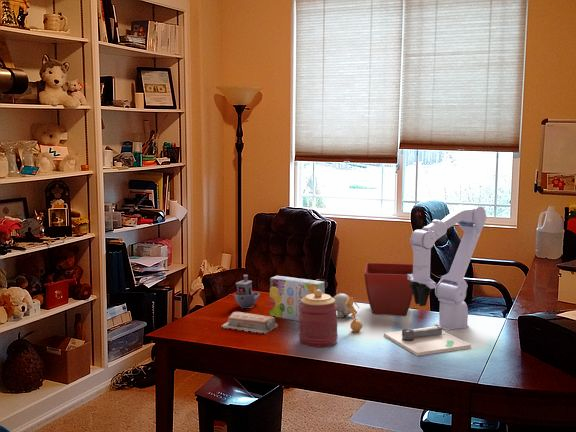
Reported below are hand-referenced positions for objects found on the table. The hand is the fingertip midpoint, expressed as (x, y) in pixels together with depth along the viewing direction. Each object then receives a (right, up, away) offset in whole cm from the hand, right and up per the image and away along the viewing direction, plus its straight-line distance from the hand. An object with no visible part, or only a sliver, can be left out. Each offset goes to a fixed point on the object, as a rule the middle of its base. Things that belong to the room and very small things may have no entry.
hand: (420, 304), depth 220 cm
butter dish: (-59, -10, +11) cm, 61 cm away
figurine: (-22, -10, +6) cm, 25 cm away
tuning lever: (-1, -10, -5) cm, 11 cm away
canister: (-35, -12, -5) cm, 37 cm away
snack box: (-42, -8, +21) cm, 47 cm away
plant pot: (-6, -7, +30) cm, 31 cm away
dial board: (+1, -11, -6) cm, 13 cm away
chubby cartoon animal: (-26, -8, +25) cm, 37 cm away
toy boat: (-62, -6, +37) cm, 72 cm away
